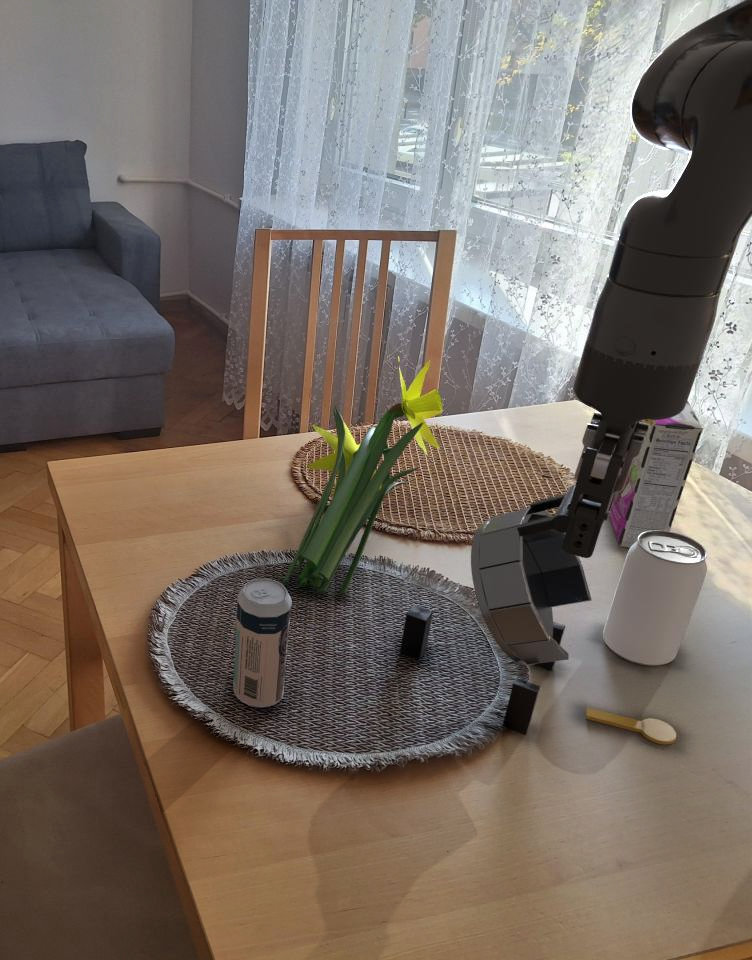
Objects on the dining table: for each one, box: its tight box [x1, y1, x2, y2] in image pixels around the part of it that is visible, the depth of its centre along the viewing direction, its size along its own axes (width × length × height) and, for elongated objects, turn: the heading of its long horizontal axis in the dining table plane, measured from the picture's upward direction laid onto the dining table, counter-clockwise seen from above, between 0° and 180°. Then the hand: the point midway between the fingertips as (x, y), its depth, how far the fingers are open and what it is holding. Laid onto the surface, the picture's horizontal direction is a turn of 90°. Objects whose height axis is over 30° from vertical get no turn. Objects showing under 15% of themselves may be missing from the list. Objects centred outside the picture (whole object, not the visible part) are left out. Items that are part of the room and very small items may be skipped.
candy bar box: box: [608, 399, 704, 550], centre depth 101 cm, size 11×5×16 cm, turn 161°
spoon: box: [585, 707, 678, 745], centre depth 76 cm, size 7×3×1 cm, turn 65°
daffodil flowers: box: [281, 355, 444, 597], centre depth 104 cm, size 17×15×35 cm
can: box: [602, 530, 708, 667], centre depth 83 cm, size 6×6×12 cm
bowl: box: [470, 484, 592, 666], centre depth 74 cm, size 14×13×9 cm
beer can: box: [232, 578, 293, 708], centre depth 79 cm, size 5×5×12 cm
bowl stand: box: [399, 604, 566, 736], centre depth 82 cm, size 13×11×5 cm
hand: (584, 533), depth 71 cm, fingers closed on bowl, 6 cm apart
